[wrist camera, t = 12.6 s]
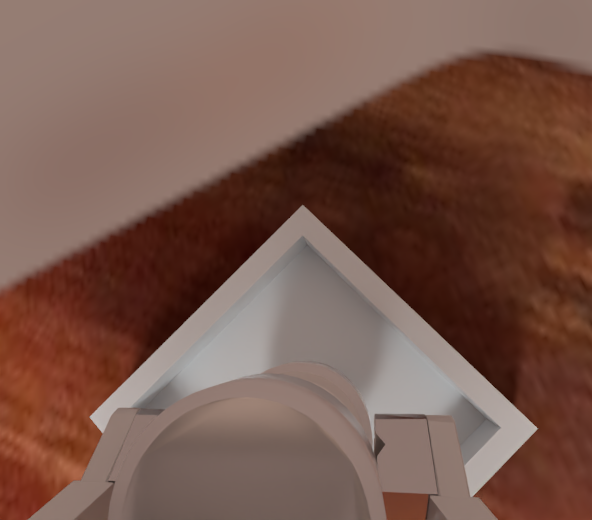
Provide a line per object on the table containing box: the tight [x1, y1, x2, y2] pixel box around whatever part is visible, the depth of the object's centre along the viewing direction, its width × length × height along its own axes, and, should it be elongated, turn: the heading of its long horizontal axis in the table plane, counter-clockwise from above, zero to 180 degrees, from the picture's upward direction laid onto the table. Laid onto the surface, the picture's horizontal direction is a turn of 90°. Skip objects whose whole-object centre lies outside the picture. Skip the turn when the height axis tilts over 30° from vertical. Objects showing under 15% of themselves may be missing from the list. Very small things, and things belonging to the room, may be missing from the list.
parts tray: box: [90, 205, 538, 497], centre depth 16 cm, size 9×9×2 cm
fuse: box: [108, 361, 387, 520], centre depth 10 cm, size 4×4×8 cm
